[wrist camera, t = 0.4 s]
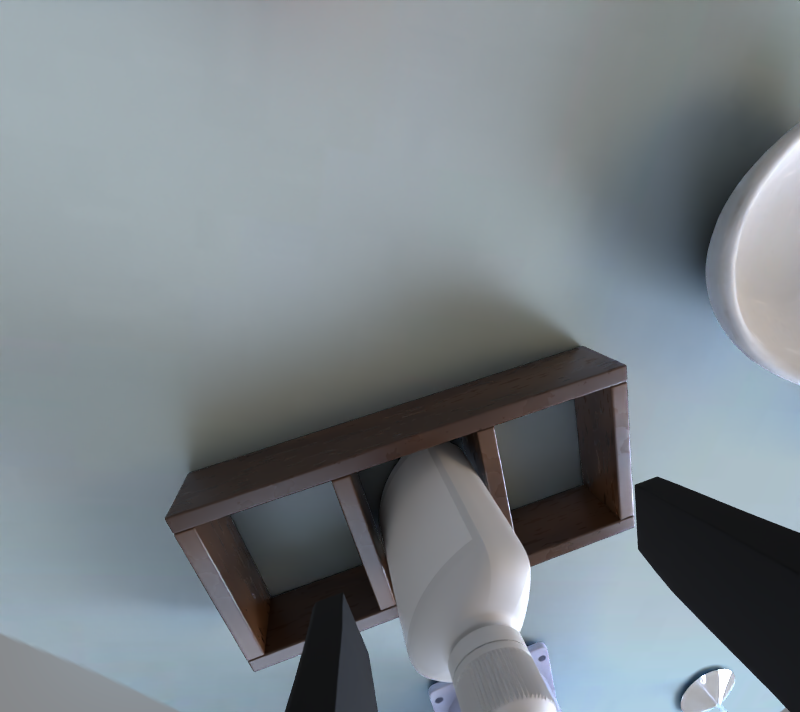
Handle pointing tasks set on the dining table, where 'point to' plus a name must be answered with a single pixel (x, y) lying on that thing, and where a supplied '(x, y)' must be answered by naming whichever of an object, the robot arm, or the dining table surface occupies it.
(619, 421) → the spice rack
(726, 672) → the white round hollow piece
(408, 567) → the eye dropper bottle
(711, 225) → the dining table surface
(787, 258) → the spoon rest
